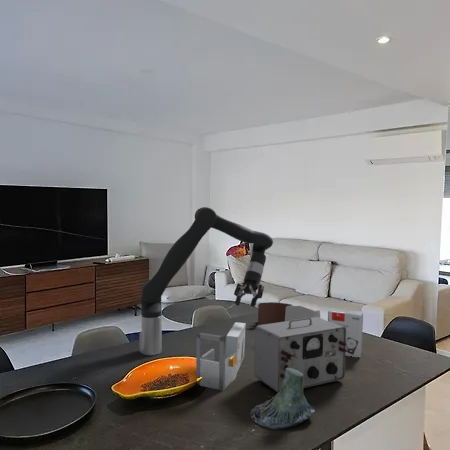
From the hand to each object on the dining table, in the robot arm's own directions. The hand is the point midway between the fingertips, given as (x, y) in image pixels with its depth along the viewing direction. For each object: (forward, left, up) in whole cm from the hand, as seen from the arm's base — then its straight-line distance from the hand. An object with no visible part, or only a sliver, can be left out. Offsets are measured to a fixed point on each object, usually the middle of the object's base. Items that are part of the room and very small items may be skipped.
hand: (244, 305), depth 194 cm
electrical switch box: (+20, +30, -23) cm, 43 cm away
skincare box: (+1, -12, -23) cm, 26 cm away
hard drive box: (+41, +24, -23) cm, 53 cm away
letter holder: (-2, +54, -24) cm, 59 cm away
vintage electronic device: (+31, -17, -23) cm, 42 cm away
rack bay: (+1, -29, -23) cm, 37 cm away
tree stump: (+32, -45, -24) cm, 60 cm away
